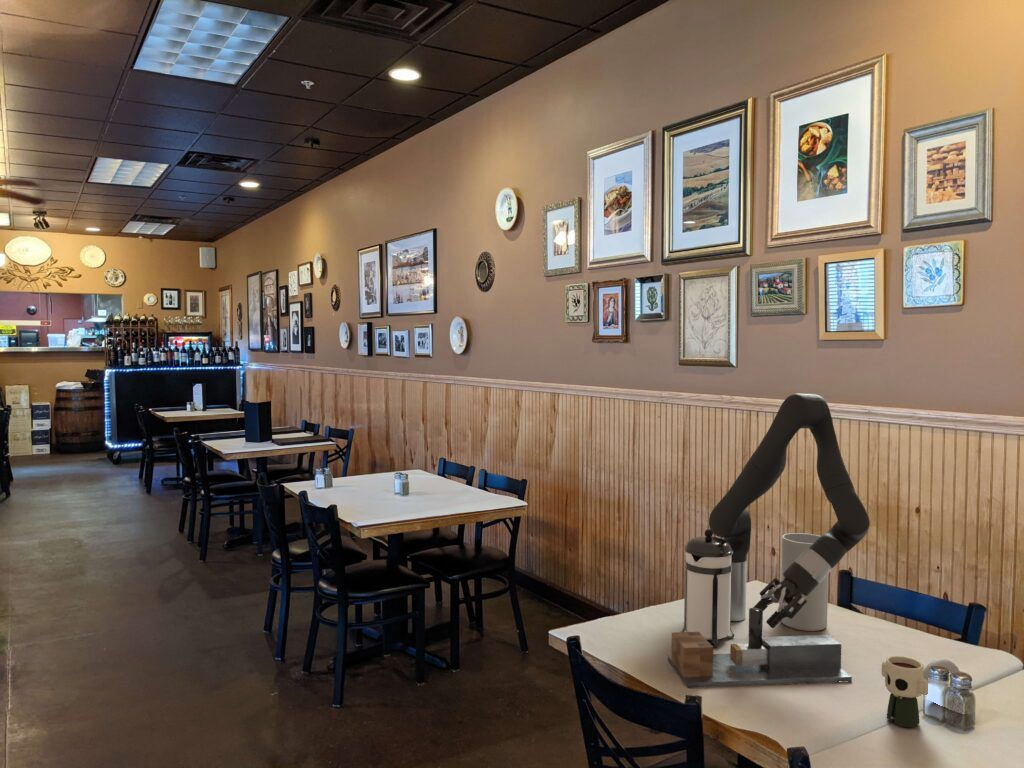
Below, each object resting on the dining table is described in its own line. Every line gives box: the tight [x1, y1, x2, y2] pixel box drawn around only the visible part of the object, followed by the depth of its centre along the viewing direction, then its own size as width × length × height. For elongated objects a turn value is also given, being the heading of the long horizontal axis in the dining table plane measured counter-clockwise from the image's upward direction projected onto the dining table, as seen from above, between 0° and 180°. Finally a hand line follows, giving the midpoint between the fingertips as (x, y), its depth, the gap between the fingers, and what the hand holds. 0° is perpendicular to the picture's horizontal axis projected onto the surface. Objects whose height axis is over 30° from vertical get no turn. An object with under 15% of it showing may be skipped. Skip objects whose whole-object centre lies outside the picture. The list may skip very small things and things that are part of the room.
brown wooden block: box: [670, 631, 714, 677], centre depth 185 cm, size 10×7×7 cm
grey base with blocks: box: [667, 634, 853, 689], centre depth 187 cm, size 16×40×7 cm, turn 96°
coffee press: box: [680, 528, 735, 649], centre depth 209 cm, size 17×16×30 cm
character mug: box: [881, 655, 928, 728], centre depth 161 cm, size 11×7×13 cm, turn 24°
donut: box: [923, 658, 961, 681], centre depth 170 cm, size 10×4×10 cm, turn 107°
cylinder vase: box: [780, 532, 829, 632], centre depth 219 cm, size 12×12×25 cm
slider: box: [729, 607, 769, 665], centre depth 187 cm, size 4×24×13 cm, turn 96°
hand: (761, 619), depth 187 cm, fingers open, 8 cm apart
